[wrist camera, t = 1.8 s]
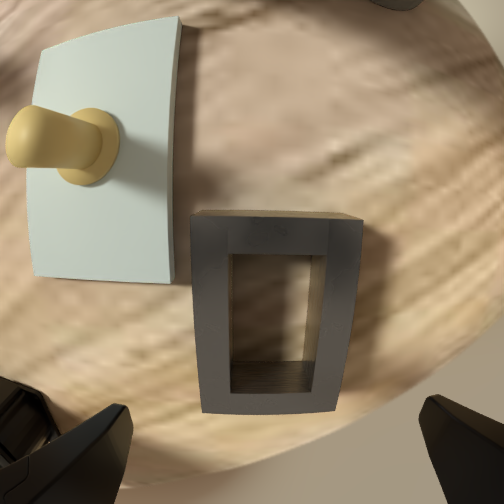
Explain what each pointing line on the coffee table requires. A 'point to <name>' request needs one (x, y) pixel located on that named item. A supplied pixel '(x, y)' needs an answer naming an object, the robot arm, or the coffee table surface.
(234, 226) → the link
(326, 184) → the coffee table surface
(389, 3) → the bottle
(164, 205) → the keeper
